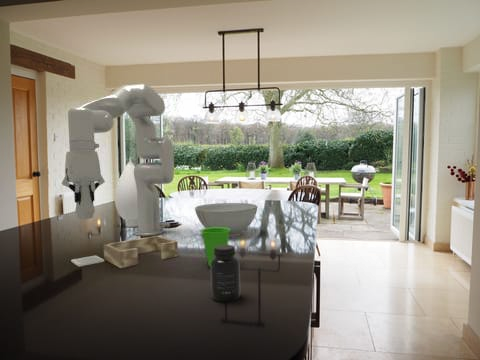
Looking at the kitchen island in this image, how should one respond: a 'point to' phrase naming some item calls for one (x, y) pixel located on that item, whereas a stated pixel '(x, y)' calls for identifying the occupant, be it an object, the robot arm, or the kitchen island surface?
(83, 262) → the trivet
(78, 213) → the salt shaker
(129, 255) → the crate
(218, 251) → the supplement bottle
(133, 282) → the kitchen island surface
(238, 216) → the decorative bowl
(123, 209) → the lamp
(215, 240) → the cup
